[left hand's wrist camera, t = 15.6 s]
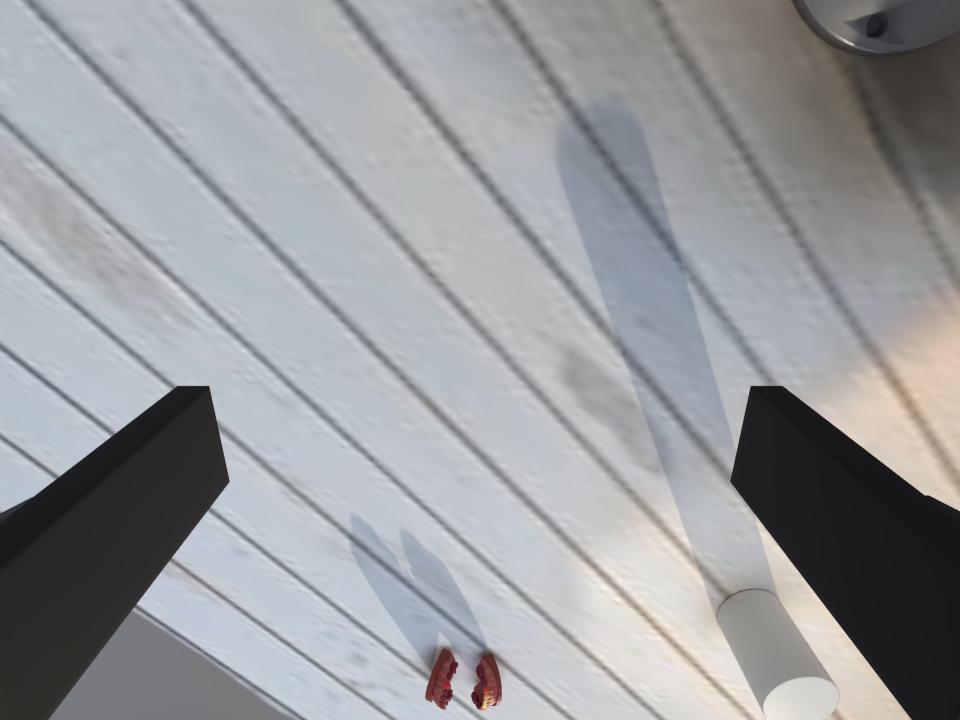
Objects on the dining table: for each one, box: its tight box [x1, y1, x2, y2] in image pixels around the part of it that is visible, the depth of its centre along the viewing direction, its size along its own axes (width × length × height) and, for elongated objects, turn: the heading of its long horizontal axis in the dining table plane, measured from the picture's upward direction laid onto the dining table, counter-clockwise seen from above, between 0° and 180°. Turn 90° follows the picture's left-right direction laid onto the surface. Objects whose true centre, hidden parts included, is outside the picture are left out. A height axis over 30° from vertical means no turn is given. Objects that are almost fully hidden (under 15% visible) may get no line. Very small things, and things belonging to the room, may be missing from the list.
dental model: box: [425, 649, 502, 710], centre depth 55 cm, size 6×4×8 cm
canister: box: [717, 589, 840, 720], centre depth 50 cm, size 7×7×10 cm
